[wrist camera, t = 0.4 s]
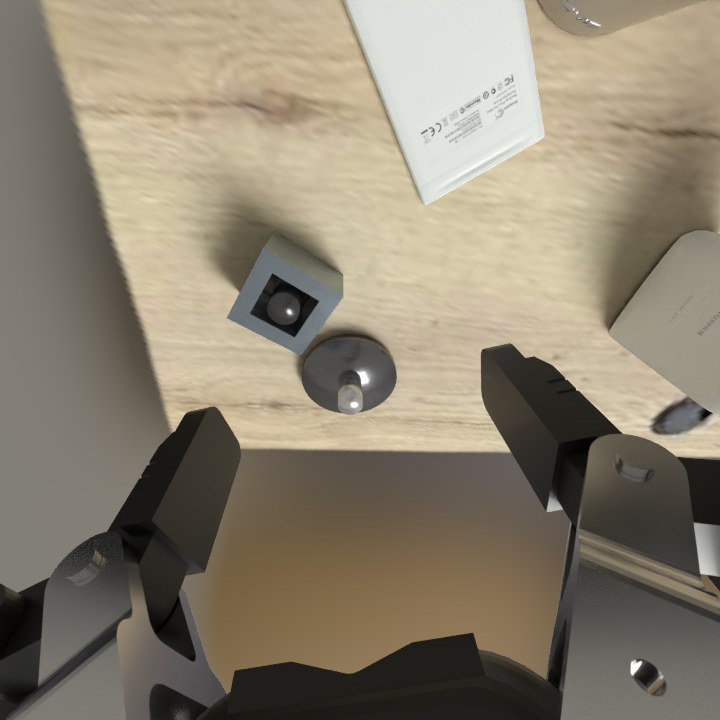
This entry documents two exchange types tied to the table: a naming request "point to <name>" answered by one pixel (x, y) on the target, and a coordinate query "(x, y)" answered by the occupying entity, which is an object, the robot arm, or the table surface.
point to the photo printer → (680, 318)
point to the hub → (349, 374)
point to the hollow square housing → (299, 273)
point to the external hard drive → (452, 83)
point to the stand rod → (285, 303)
